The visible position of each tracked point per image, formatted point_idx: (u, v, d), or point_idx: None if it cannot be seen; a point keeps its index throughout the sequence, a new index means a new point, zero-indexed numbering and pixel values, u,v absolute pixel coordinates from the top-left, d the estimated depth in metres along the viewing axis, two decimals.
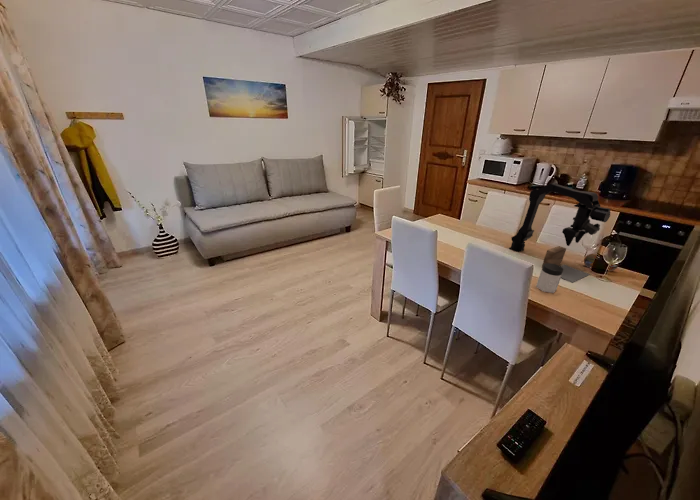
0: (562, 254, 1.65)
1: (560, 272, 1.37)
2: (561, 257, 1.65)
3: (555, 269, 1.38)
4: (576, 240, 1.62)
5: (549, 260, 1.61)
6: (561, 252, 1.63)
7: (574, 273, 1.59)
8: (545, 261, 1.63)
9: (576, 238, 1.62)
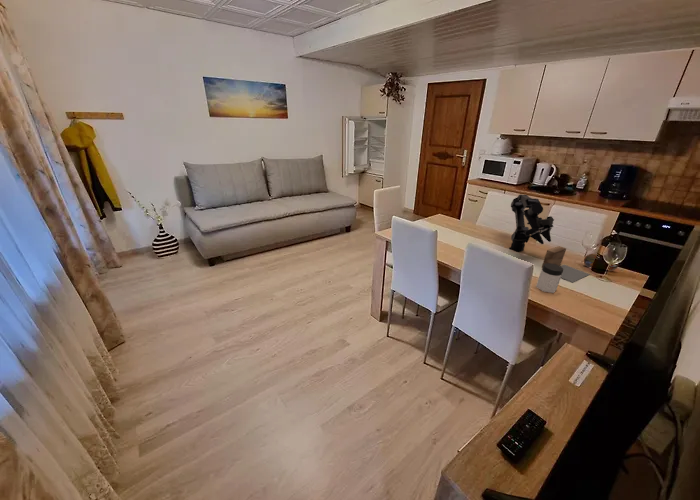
0: (562, 254, 1.65)
1: (560, 272, 1.37)
2: (561, 257, 1.65)
3: (555, 269, 1.38)
4: (548, 240, 1.69)
5: (549, 260, 1.61)
6: (561, 252, 1.63)
7: (574, 273, 1.59)
8: (545, 261, 1.63)
9: (546, 238, 1.70)
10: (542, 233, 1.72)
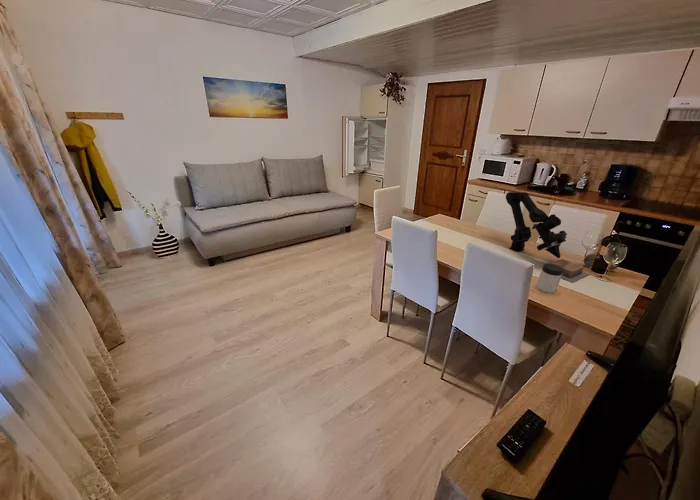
0: None
1: (560, 272, 1.37)
2: None
3: (555, 269, 1.38)
4: None
5: None
6: None
7: None
8: None
9: None
10: None
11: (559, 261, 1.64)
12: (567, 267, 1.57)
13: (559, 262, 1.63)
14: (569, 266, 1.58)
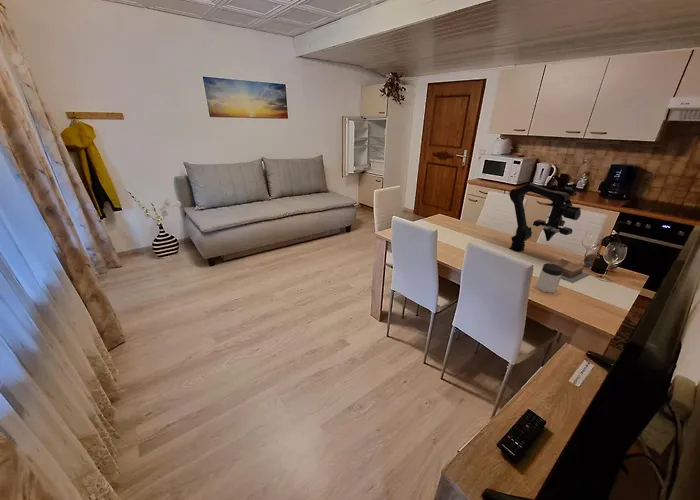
0: None
1: (560, 272, 1.37)
2: None
3: (555, 269, 1.38)
4: None
5: None
6: None
7: None
8: None
9: None
10: (548, 231, 1.68)
11: (559, 261, 1.64)
12: (567, 267, 1.57)
13: (559, 262, 1.63)
14: (569, 266, 1.58)
